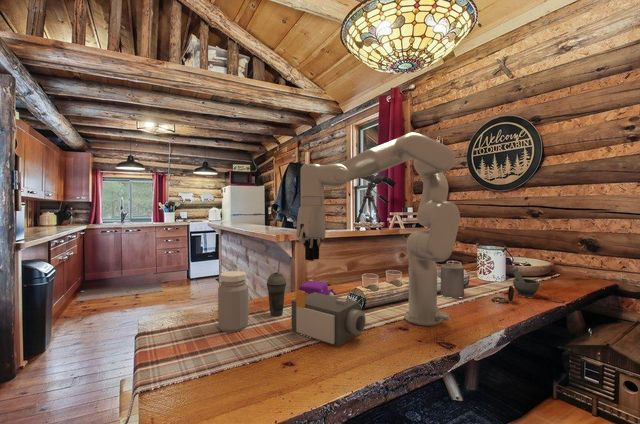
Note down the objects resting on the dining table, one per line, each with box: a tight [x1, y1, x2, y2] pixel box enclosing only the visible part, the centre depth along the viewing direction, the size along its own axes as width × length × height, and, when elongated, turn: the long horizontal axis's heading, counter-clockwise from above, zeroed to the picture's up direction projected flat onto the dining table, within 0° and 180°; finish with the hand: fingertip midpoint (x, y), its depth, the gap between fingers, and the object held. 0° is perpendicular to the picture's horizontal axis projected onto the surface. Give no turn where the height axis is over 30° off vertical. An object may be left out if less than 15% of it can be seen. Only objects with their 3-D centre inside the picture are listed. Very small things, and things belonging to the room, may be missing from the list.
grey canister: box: [440, 262, 465, 298], centre depth 136 cm, size 10×10×15 cm
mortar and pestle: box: [511, 267, 540, 298], centre depth 136 cm, size 11×9×12 cm
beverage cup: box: [266, 260, 287, 318], centre depth 112 cm, size 7×7×20 cm
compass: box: [491, 285, 515, 305], centre depth 126 cm, size 8×8×7 cm
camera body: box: [291, 292, 366, 348], centre depth 95 cm, size 22×12×11 cm, turn 53°
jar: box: [217, 270, 249, 333], centre depth 100 cm, size 10×10×18 cm
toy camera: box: [298, 279, 335, 297], centre depth 121 cm, size 11×14×10 cm
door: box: [295, 289, 335, 344], centre depth 90 cm, size 14×1×13 cm, turn 53°
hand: (312, 259), depth 98 cm, fingers closed
